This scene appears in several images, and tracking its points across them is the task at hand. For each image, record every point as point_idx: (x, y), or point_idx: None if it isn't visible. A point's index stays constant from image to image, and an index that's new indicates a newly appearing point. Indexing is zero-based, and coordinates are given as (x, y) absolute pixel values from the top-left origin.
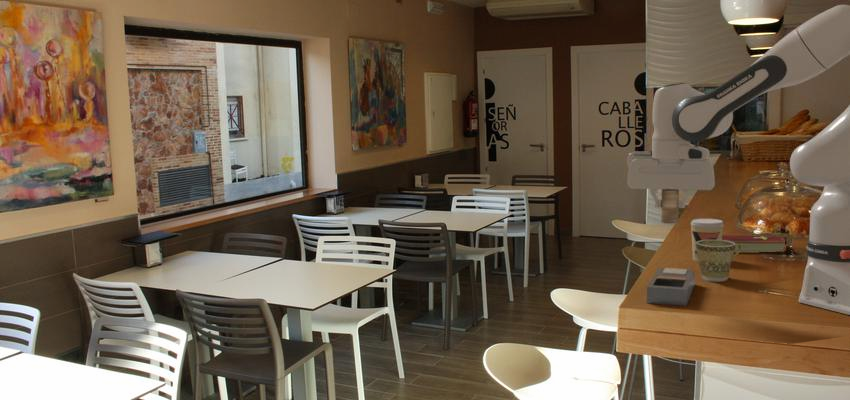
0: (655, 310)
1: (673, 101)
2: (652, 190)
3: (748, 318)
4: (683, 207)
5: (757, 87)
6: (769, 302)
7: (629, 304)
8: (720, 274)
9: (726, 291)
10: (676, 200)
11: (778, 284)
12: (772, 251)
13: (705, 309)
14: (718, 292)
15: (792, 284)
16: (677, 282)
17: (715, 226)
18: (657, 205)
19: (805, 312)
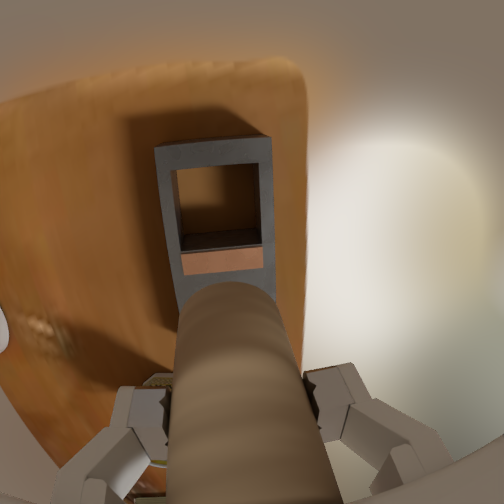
0: (228, 72)
1: None
2: (434, 458)
3: (26, 109)
4: (125, 386)
5: None
6: (22, 256)
7: (302, 105)
8: (149, 384)
9: (114, 311)
10: (174, 427)
11: (62, 380)
12: (150, 498)
13: (113, 133)
14: (126, 297)
15: (47, 384)
16: (202, 246)
17: None
18: (338, 372)
19: None
